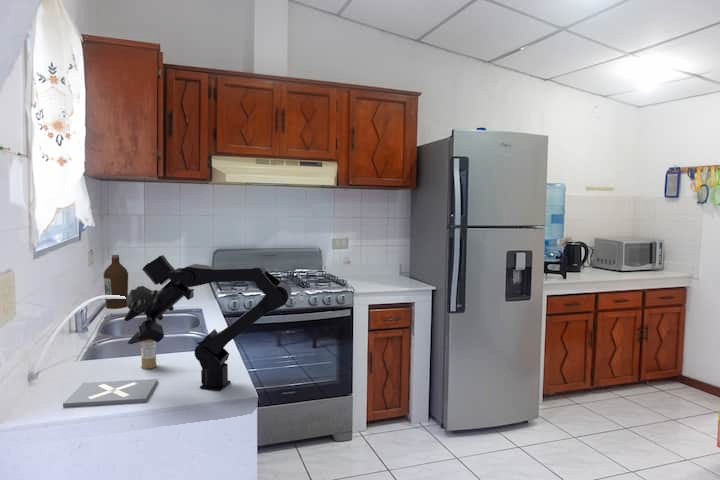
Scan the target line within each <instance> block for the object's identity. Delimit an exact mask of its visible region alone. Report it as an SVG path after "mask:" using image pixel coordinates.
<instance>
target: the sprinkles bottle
mask: <svg viewBox="0 0 720 480" xmlns="http://www.w3.org/2000/svg"><path fill="white" fill-rule="evenodd" d="M140 356H141V357H140V358H141V368H142V369H145V370H146V369H153V368H155V367H157V342H156V341H153V340H146V341H142V342H140Z"/></svg>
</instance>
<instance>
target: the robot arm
mask: <svg viewBox="0 0 720 480" xmlns="http://www.w3.org/2000/svg"><path fill="white" fill-rule="evenodd" d="M141 270H142V271H143V273H144V274H146V276H147V277H148V278H149V279H150V281H151V282H152V283H153V284H154V285H156V286H157V285H160V286H163V285H164V284H165V285H164V286H163V287H162V288H160V289H159V290H157V289H155V290H151V289H150V288H148V287H146V286H144V285H140V286H139V285H138V286H137V287H135V289H131V290H130V291H129V292H128V296H127V298H126V301H127V306H126V308H127V309H129V310H128V312H127V313H126V315H125V317H124V321H125V322H129V321H131V320H132V319H134V318H136V317H138V316H140V315H142V314H145V316H146V320H144V321H143V322H141V324H140V325H138V330H137V332H135V334H134V335H133V336H131V338H130V339H129V340H128V341H127V344H128V345H133V344H138V343H141V342H142V341H146V340H153V341H156V343H159V342H161V341H162V340H163V339H164V338H165V333H164V329H163V325H161V324H159V323H157V320H159V321H162V320H163V319H164V314H165V313H166V312H167V311H170V312H172V311H174V310H175V308H174V305H175V304H177V303H178V302H179V301H180V300H181V299H182V298H184V297H185V299H187V300H188V301H189V300H191V299H193V298H194V297H195V296H194V295H195V294H194V291H195V289H194V288H193V287H199V286H203V285H207V284H210V283H211V284H212V283H226V282H227V283H231V282H232V283H233V282H234V283H236V282H254V284H255V285H257V287H258V289H259V290H260V292H262V293H263V294H264V296H263V297H262V298H261V299H260V301H259V302H258V303H256V304H255V305H254V306H252V307H251V308H250V309H249V310H247V311H246V312H245V313H244V314H242V315H241V316H239V317H238V318H237V319H236V320H234V321H233V322H232V323H231V324H229V325H228V326H226V327H225V328H224V329H222V330H220V331H217V330H216V328H215V329H213V330H212V331H211V332H209V333H208V334H207V335H204V336H203V337H202V338H201V339H200V340H198V342H197V343H196V344H197V346H196V347H195V349H194V357H195V359H196V360H197V361H198V362H199V365H200V367H201V372H200V373H201V375H200V377H201V384H200V386H199V389H202V390H203V389H204V390H212V391H221V390H223V389H224V388H225V387H227V386H228V385H229V384H230V383H231V380H230V379H229V375H228V374H229V368H228V367H229V365H228V363H226V362H227V361H228V359H229V356H230V352H228V351H227V349H225V347H226V345H228V344H229V342H231V341H232V340H233V339H235V338H236V337H238V336H239V335H240V334H241V333H243V332H244V331H245V330H246V329H248V328H249V327H250V326H251V325H253V324H254V323H256V322H257V321H259V319H261V318H262V317H264V316H265V315H266V314H268V313H271V312H274V311H275V310H278V309H279V308H281V307H284V306H285V305H286V304H287V302H289V300H290V299H291V297H292V293H293V292H292V291H293V290H292V288H291V286H290V285H289V284H288V283H285V282H282V281H281V280H279V278H278V277H276V276H274V275H273V274H272V273H270V272H269V271H268V270H267V269H266V268H265V267H264V266H262V265H257V266H238V267H236V266H232V267H228V266H227V267H215V266H210V265H207V264H200V263H194V264H193V263H192V264H190V265H188V266H185V267H179V268H178V267H177V268H174V267H173V265H172V264H170V262H169V261H168V260H167V258H166V257H165V255H163V254H162V255H158V257H156V258H155V259H153V260H152V261H150V262H148V263H147V264H145V265H144V266H143V267H142V269H141ZM169 280H170V281H169ZM167 282H168V283H167Z"/></svg>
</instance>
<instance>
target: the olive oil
mask: <svg viewBox="0 0 720 480" xmlns="http://www.w3.org/2000/svg"><path fill="white" fill-rule="evenodd" d="M103 286H104V295H120V296H125V297H126V298H127V296H128V295H129V292H128V291H129V271H128V270H127V269H126V267H125V266H124V265H122V264H121V262H120V255H119V254H112V255H111V263H110V265H109V266H107V268H106V269H105V270H104V273H103ZM105 307H106V308H107V309H113V310H114V309H116V310H117V309H122V308H127V301H126V299H106V298H105Z"/></svg>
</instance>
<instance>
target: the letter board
mask: <svg viewBox="0 0 720 480" xmlns="http://www.w3.org/2000/svg"><path fill="white" fill-rule="evenodd" d="M158 380H159V379H158V378H151V379H147V378H146V379H133V380H131V379H130V380H128V379H127V380H112V381H96V382H95V381H93V382H82V383H81V384H80V386H78V388H77V389H75V391H73V392H72V394H70V396H69V397H67V399H65V401H63V403H62V407H63V408H71V407H72V408H74V407H87V406H88V407H89V406H104V405H105V406H106V405H107V406H108V405H120V404H122V405H123V404H136V403H147V401H148V400H149V398H150V396H151V394H152V393H153V391H154V389H155V387H156V386H157V384H158V382H159V381H158Z"/></svg>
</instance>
